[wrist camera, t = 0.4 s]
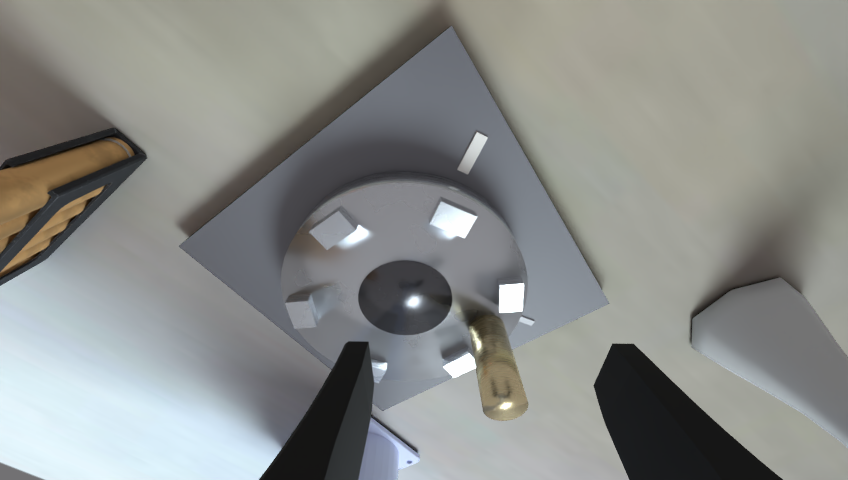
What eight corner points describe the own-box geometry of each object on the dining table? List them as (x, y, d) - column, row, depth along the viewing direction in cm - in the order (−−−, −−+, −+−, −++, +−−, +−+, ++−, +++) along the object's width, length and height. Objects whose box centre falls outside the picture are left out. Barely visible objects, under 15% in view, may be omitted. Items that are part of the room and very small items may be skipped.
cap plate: (383, 399, 27) (382, 412, 27) (188, 237, 20) (177, 247, 19) (602, 293, 22) (610, 304, 22) (449, 26, 15) (451, 25, 14)
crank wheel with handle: (269, 322, 22) (213, 425, 16) (331, 126, 16) (281, 174, 10) (454, 379, 24) (466, 484, 19) (565, 230, 19) (631, 315, 13)
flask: (671, 314, 24) (820, 473, 15) (789, 257, 21) (1043, 405, 13) (704, 371, 26) (844, 532, 18) (810, 326, 24) (1029, 485, 16)
